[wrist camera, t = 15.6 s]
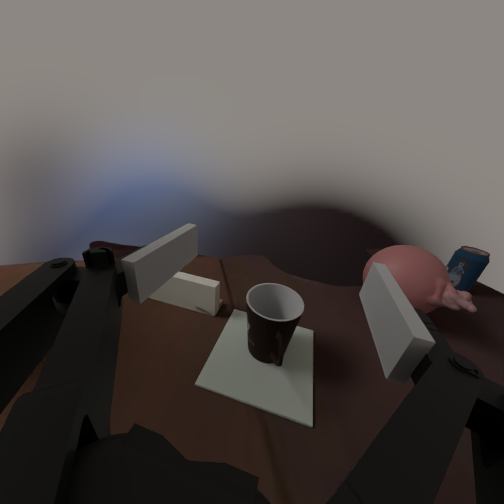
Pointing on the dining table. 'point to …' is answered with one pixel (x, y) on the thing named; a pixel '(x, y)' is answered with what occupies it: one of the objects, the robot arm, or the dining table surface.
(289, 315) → the coffee mug
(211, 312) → the white rectangular block
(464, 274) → the soda can
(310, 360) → the mat
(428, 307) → the balloon
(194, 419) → the dining table surface
